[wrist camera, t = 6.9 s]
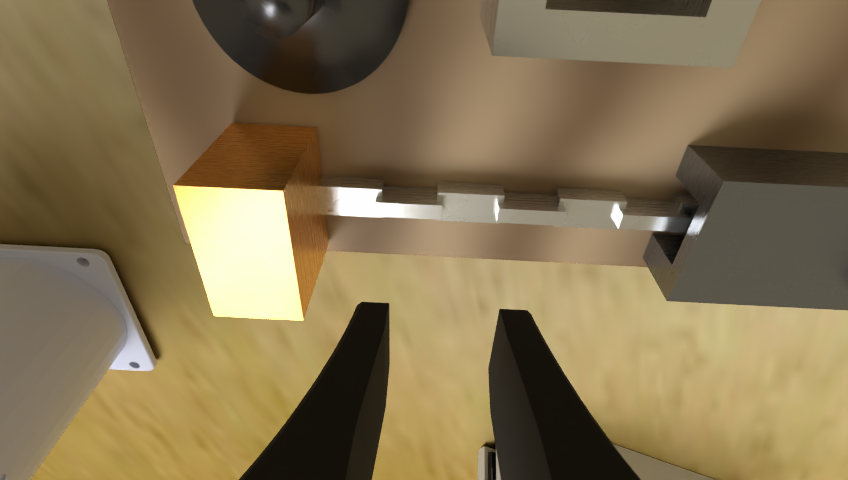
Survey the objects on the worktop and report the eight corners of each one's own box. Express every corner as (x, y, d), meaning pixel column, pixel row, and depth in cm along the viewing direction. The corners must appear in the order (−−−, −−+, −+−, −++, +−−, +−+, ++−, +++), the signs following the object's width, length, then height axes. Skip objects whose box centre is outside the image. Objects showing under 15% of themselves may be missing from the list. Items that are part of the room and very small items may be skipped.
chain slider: (256, 238, 19) (213, 316, 16) (231, 122, 16) (172, 185, 13) (706, 261, 19) (766, 344, 16) (763, 149, 16) (852, 219, 13)
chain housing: (642, 257, 19) (695, 351, 15) (687, 144, 16) (767, 225, 12) (885, 269, 19) (1002, 367, 15) (974, 159, 16) (1148, 244, 12)
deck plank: (193, 232, 20) (185, 243, 20) (21, -332, 11) (-6, -347, 10) (887, 267, 20) (901, 279, 20) (1319, -268, 11) (1374, -278, 10)
